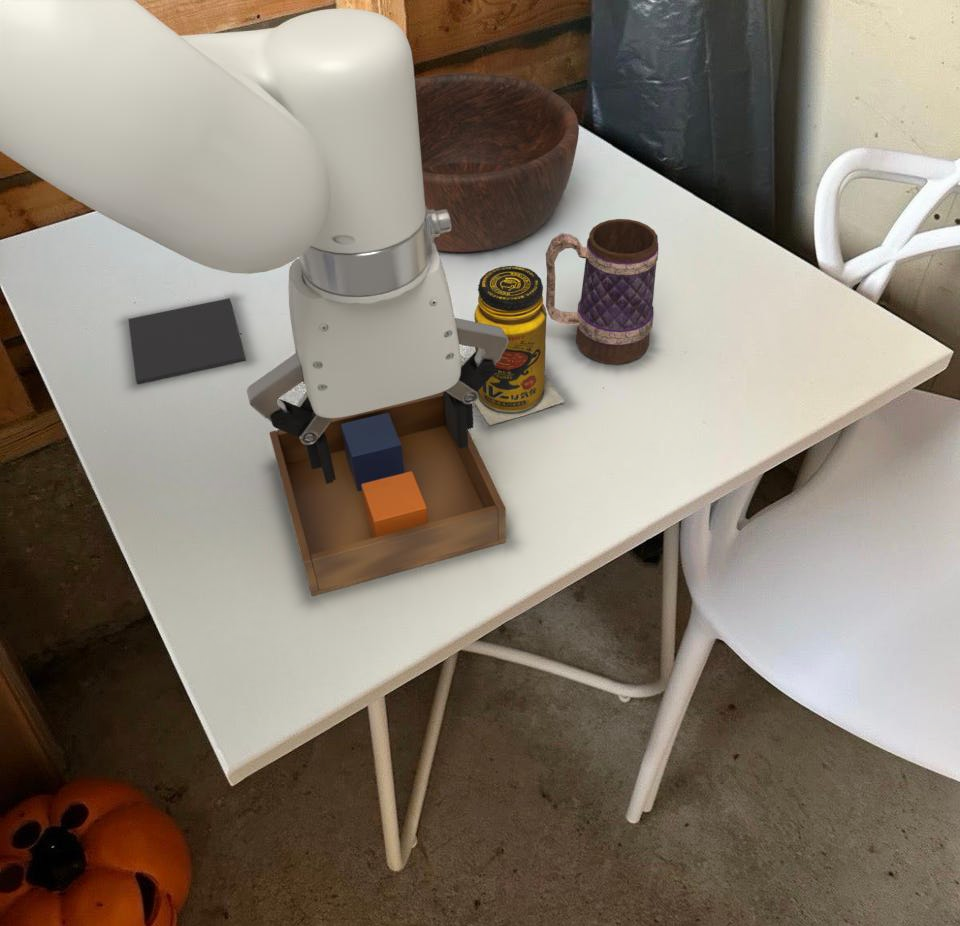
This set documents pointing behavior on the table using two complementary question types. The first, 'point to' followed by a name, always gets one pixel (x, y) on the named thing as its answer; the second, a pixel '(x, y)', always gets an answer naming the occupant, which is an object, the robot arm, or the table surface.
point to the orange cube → (394, 504)
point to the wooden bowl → (492, 156)
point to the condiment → (515, 345)
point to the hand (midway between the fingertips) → (392, 452)
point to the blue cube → (372, 449)
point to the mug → (610, 289)
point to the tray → (341, 510)
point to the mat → (184, 340)
